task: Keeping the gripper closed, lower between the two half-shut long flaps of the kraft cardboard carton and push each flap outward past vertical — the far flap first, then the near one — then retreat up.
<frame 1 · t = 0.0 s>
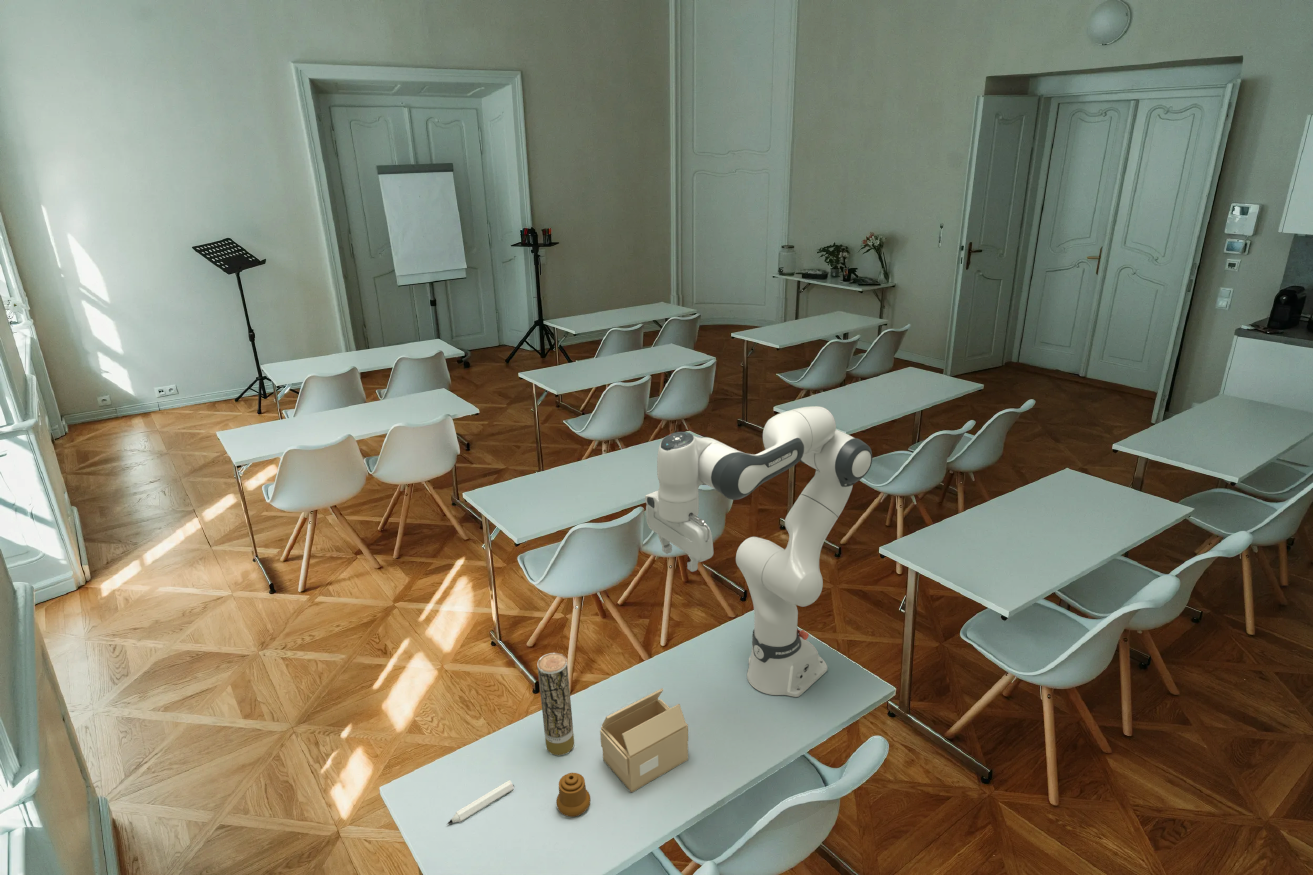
hand: (679, 560, 173), 48 cm above the table, fingers open, 8 cm apart
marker: (480, 808, 171), on the table
flap far: (632, 707, 181), point 13 cm above the table, hinge at -30.0°
ornamental finial: (573, 805, 171), on the table
flap near: (654, 729, 174), point 13 cm above the table, hinge at -30.0°
carton: (645, 759, 182), on the table
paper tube: (560, 746, 187), on the table
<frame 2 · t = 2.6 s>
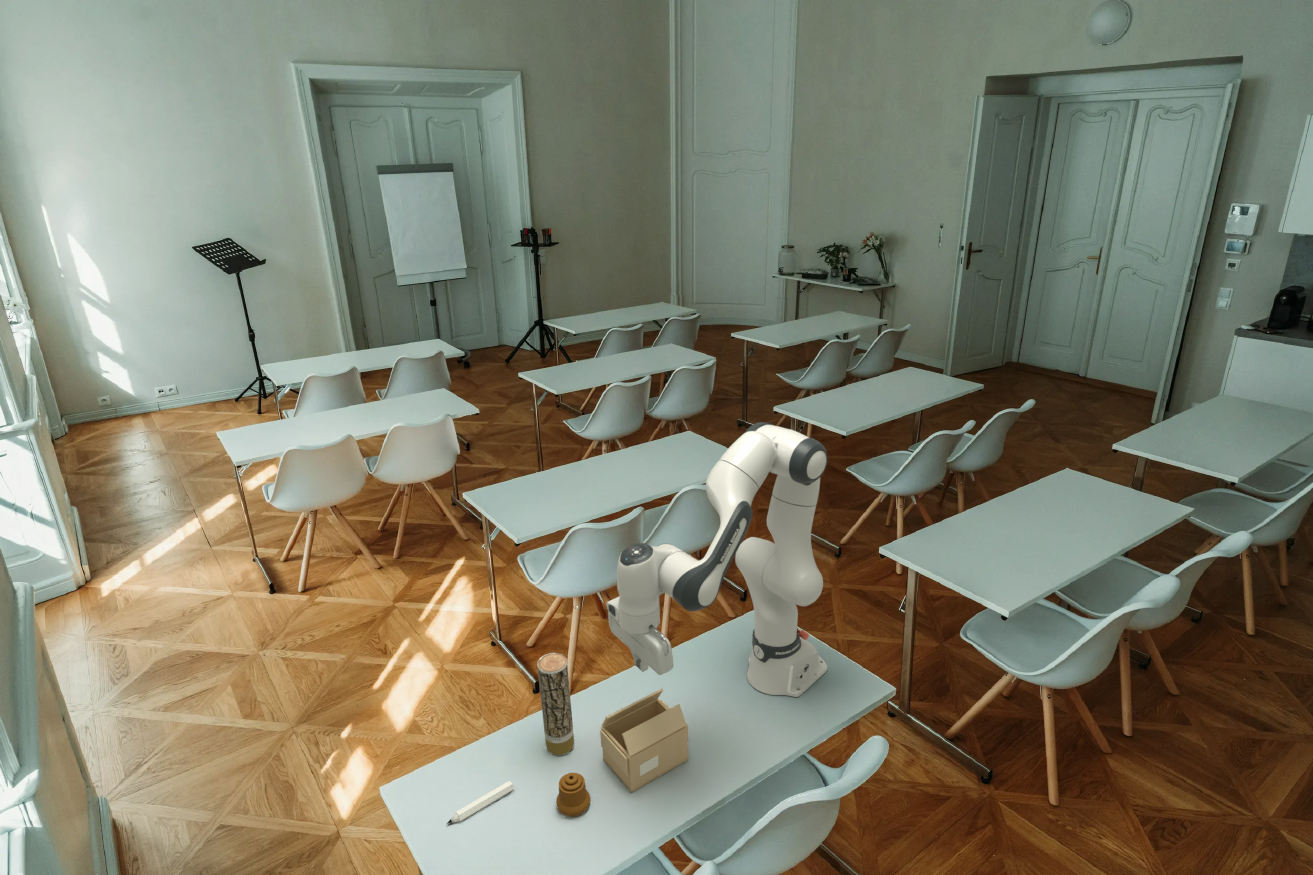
hand: (641, 667, 172), 27 cm above the table, fingers closed
nothing on the table moved.
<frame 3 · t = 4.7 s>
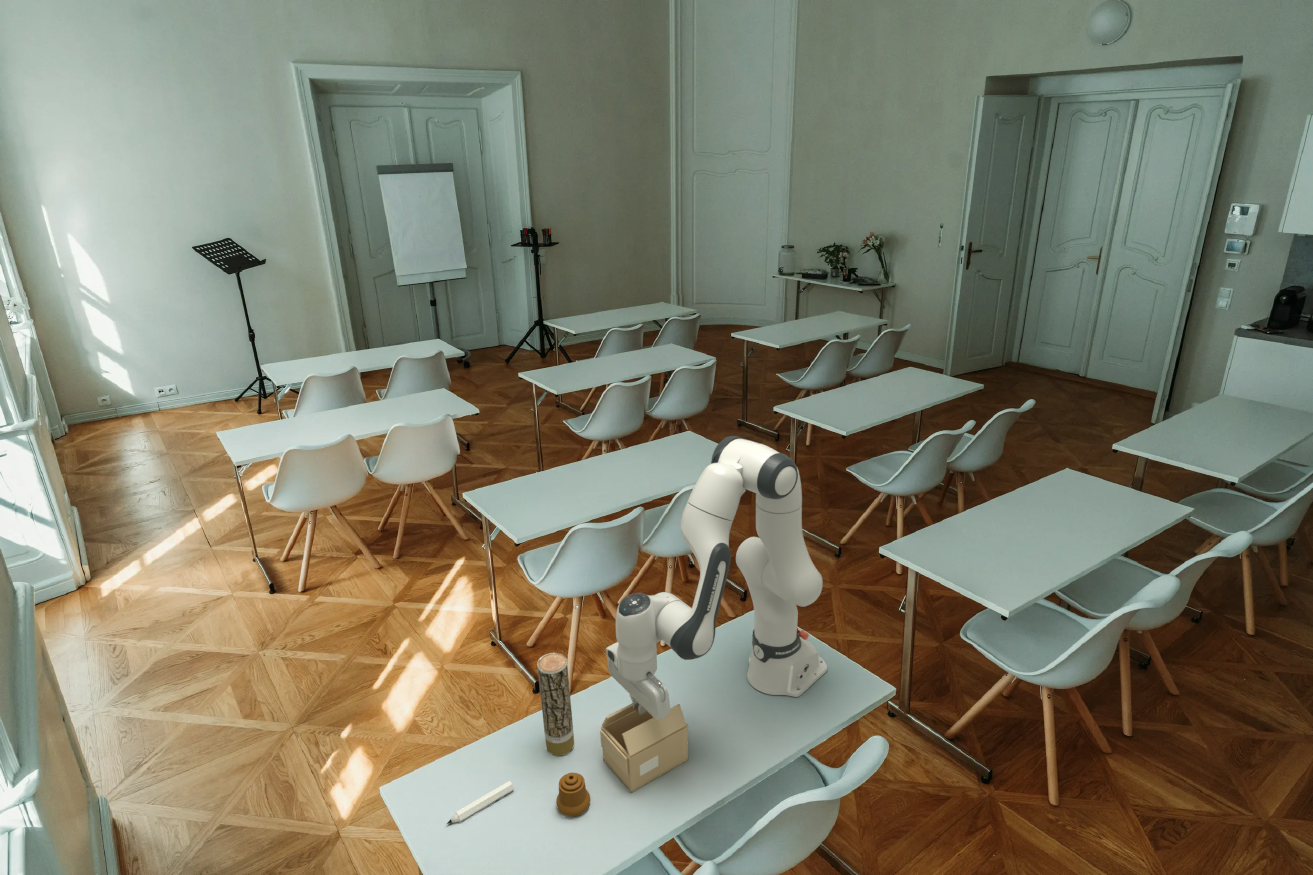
hand: (639, 710, 178), 14 cm above the table, fingers closed
flap far: (632, 707, 181), point 13 cm above the table, hinge at -29.8°, touching gripper
everything else where it was.
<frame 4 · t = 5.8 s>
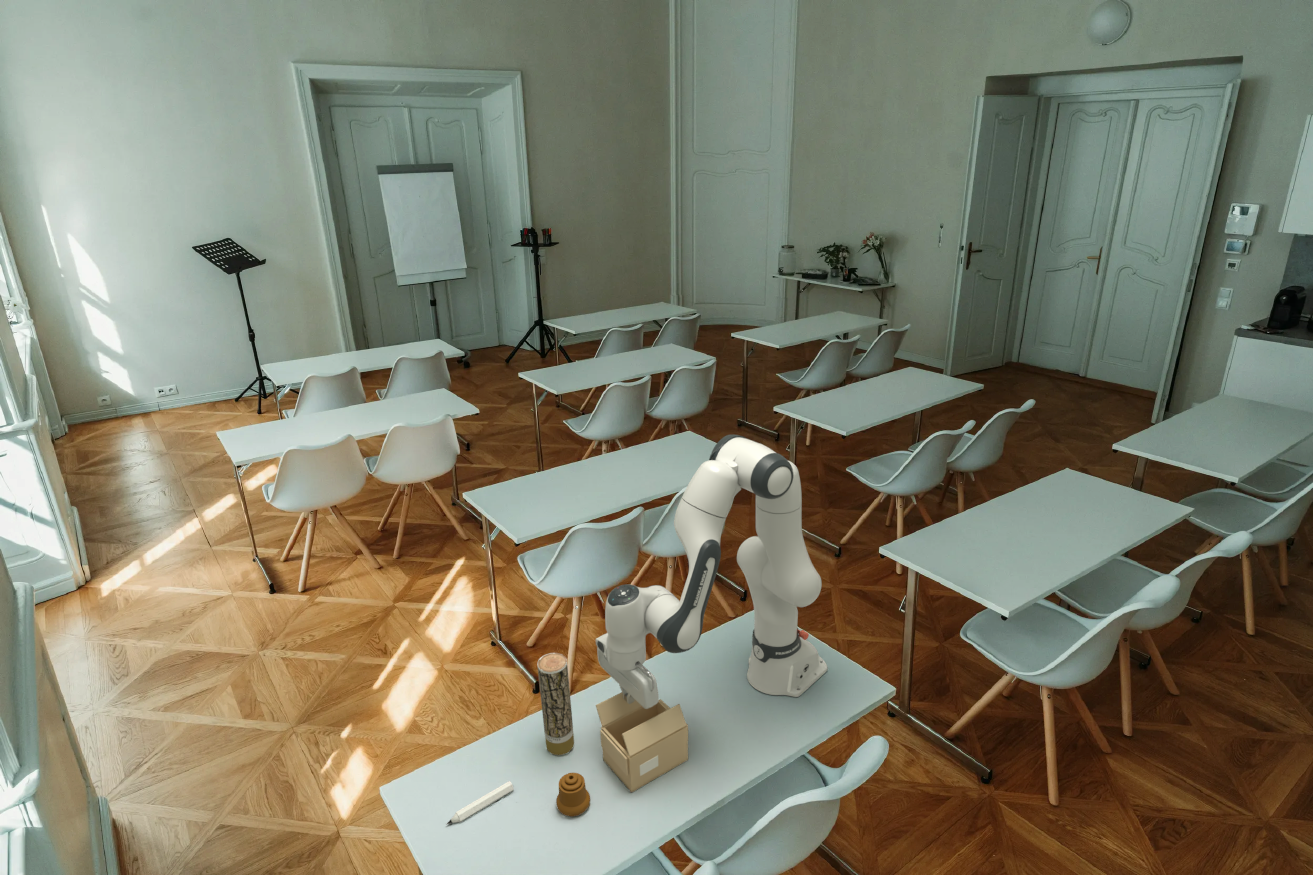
hand: (628, 700, 181), 14 cm above the table, fingers closed
flap far: (627, 701, 183), point 13 cm above the table, hinge at 27.0°, touching gripper
everything else where it was.
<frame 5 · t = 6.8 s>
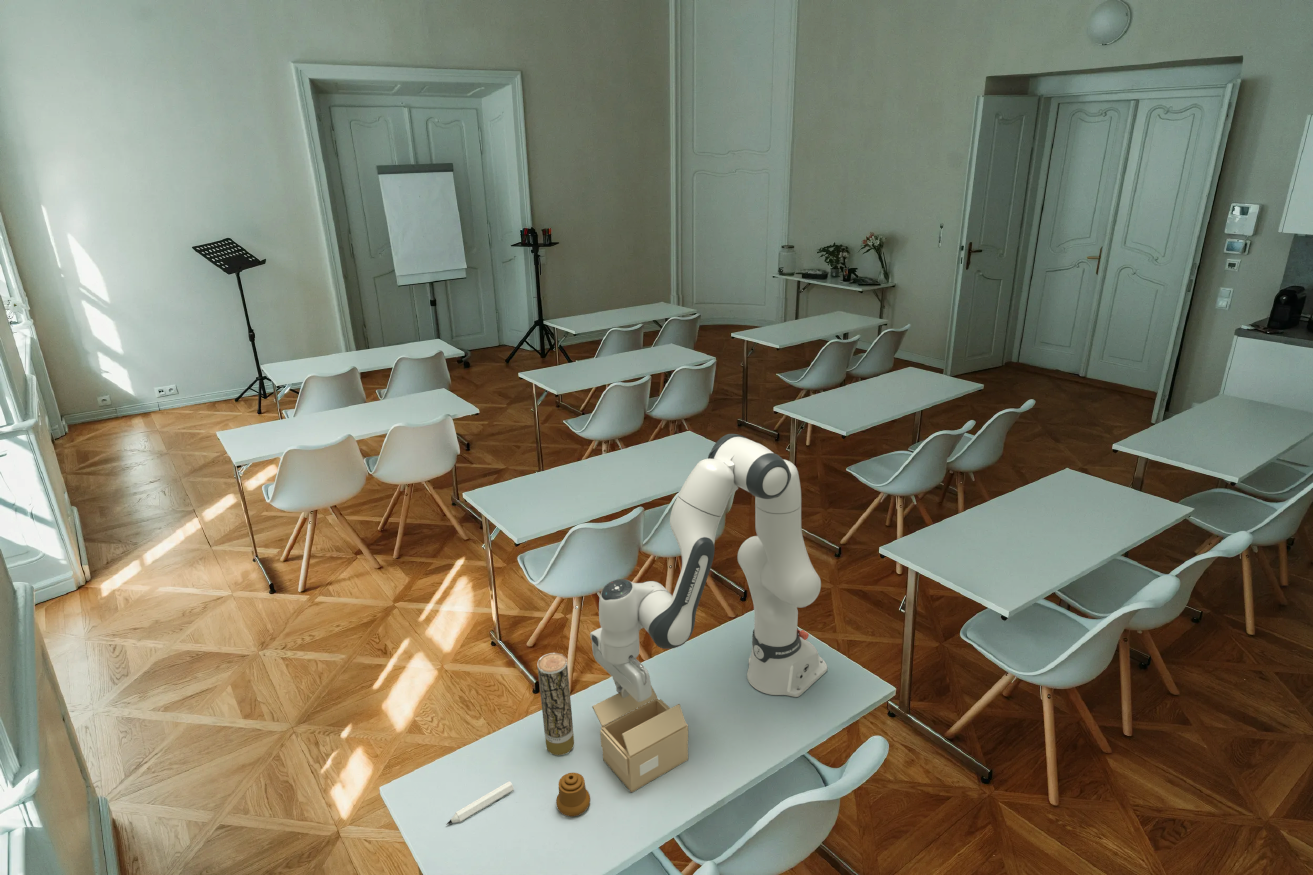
hand: (622, 693, 184), 14 cm above the table, fingers closed
flap far: (625, 701, 183), point 12 cm above the table, hinge at 54.3°
everything else where it was.
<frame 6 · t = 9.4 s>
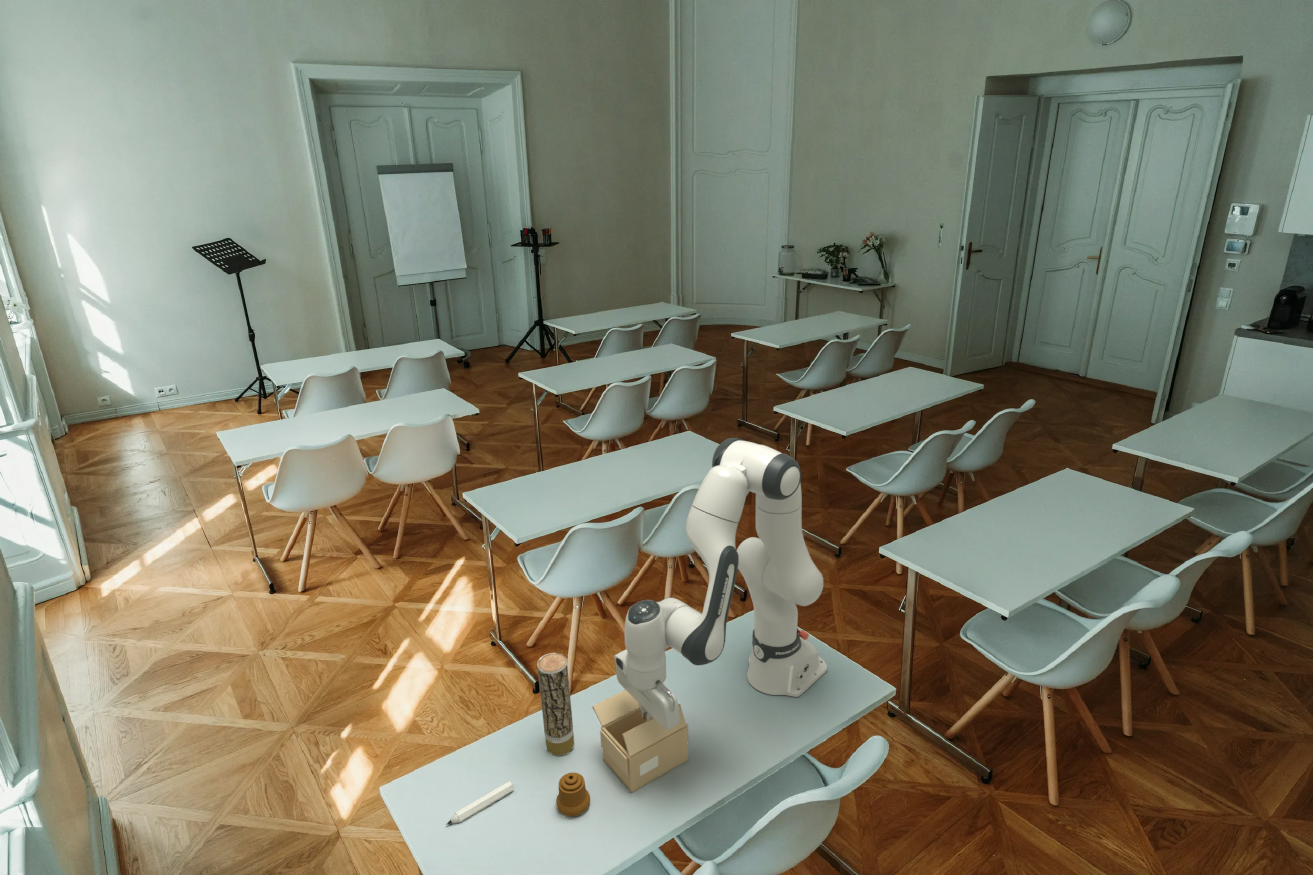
hand: (648, 719, 175), 14 cm above the table, fingers closed
flap near: (655, 729, 174), point 13 cm above the table, hinge at -27.6°, touching gripper
everything else where it was.
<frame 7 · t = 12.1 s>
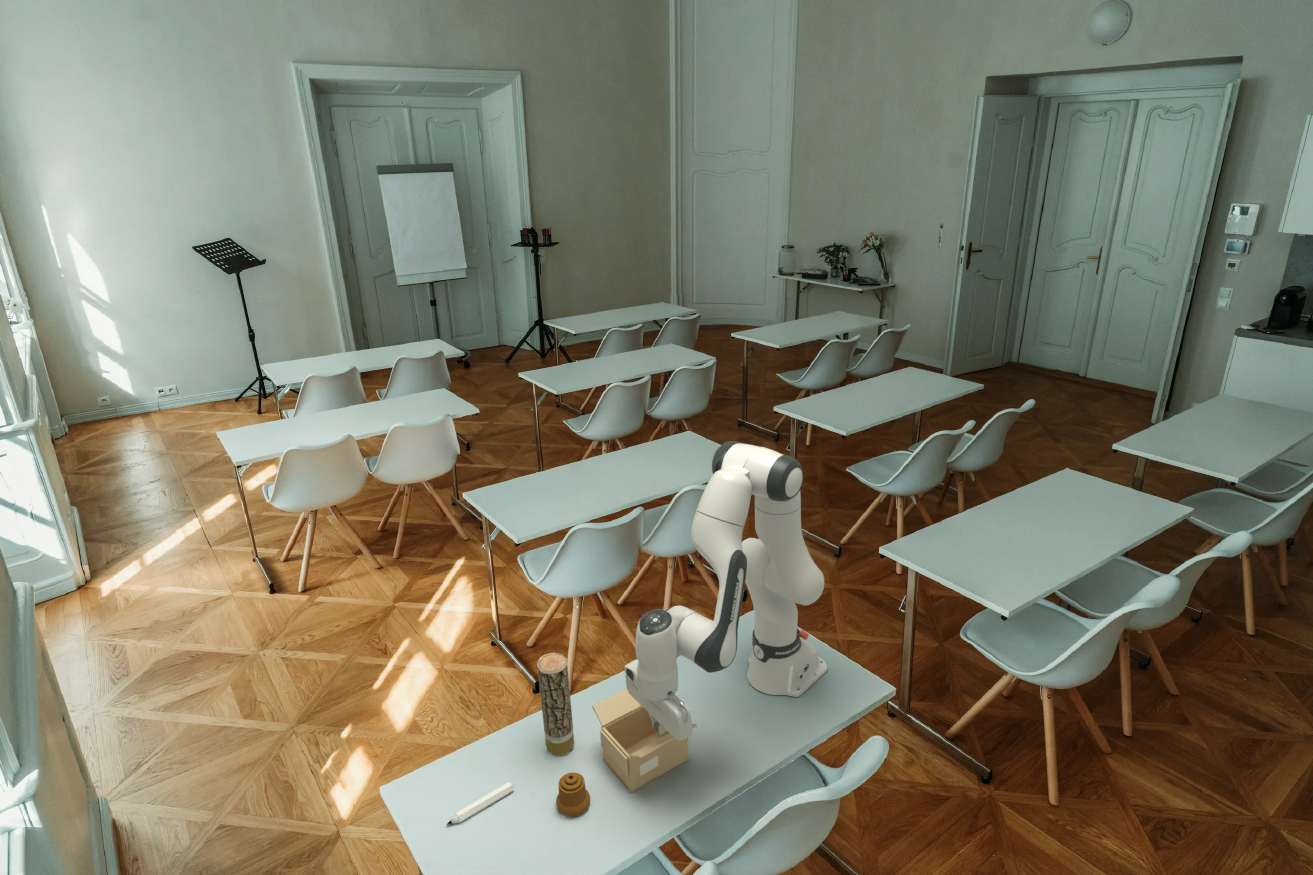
hand: (659, 730, 172), 13 cm above the table, fingers closed
flap near: (663, 740, 172), point 12 cm above the table, hinge at 54.2°
everything else where it was.
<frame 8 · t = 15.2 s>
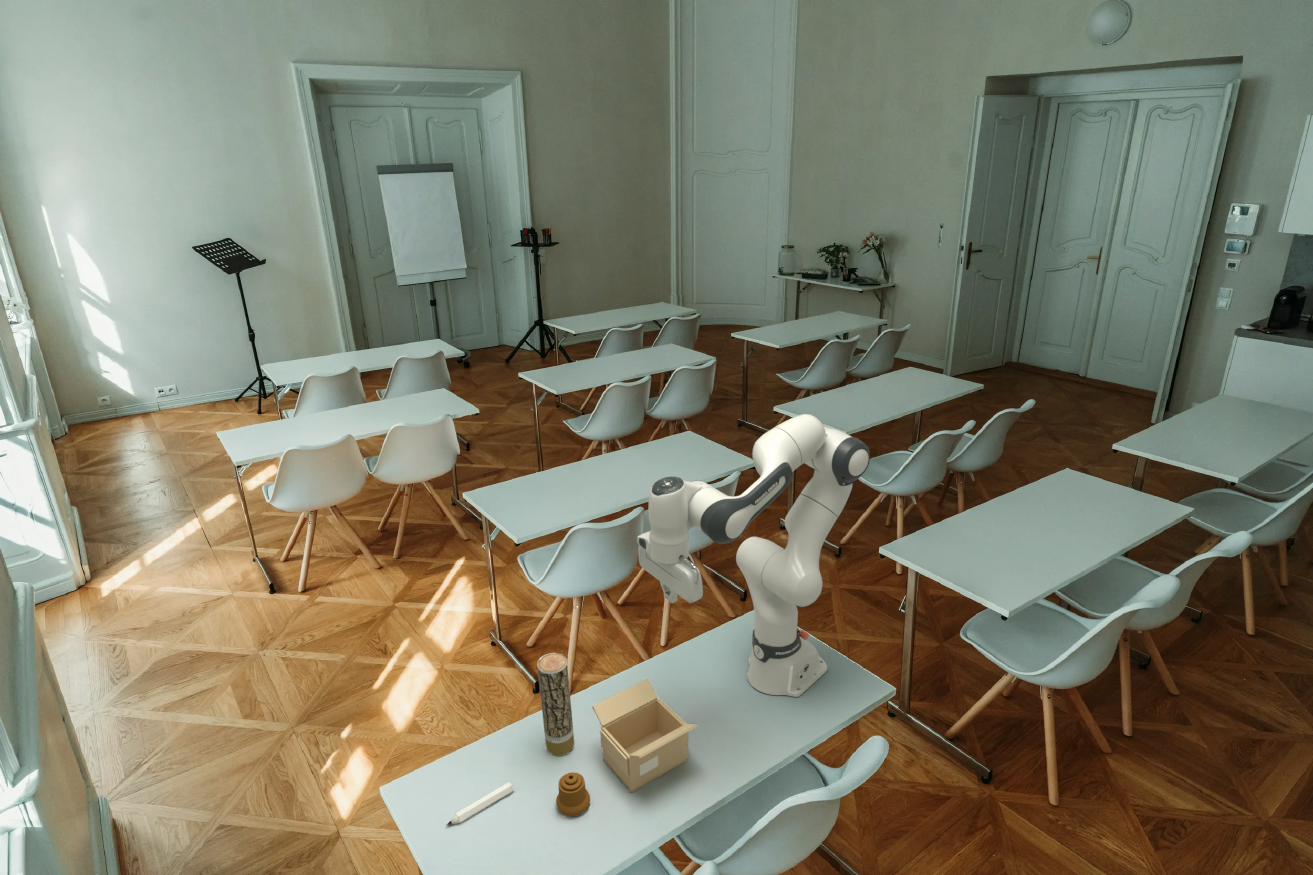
hand: (670, 599, 178), 37 cm above the table, fingers closed
nothing on the table moved.
at the end: flap far at +54° (first picture: -30°); flap near at +54° (first picture: -30°) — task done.
